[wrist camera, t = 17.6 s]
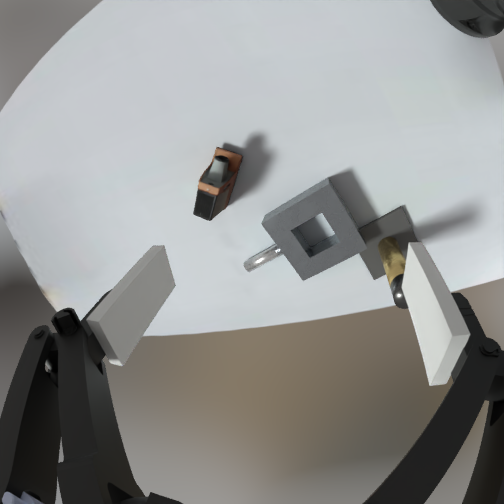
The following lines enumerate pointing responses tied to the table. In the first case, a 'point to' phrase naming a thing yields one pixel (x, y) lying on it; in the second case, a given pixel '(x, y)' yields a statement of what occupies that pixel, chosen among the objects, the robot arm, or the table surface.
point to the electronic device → (217, 184)
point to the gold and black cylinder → (393, 268)
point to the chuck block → (292, 242)
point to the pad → (384, 227)
